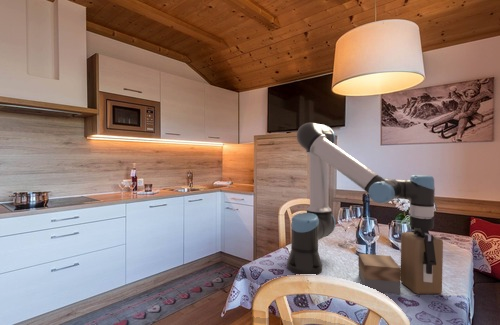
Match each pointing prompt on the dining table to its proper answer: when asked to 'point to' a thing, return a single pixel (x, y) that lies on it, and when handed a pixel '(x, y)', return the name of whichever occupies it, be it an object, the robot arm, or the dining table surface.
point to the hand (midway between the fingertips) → (420, 274)
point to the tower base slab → (381, 284)
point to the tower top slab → (379, 267)
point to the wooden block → (420, 264)
